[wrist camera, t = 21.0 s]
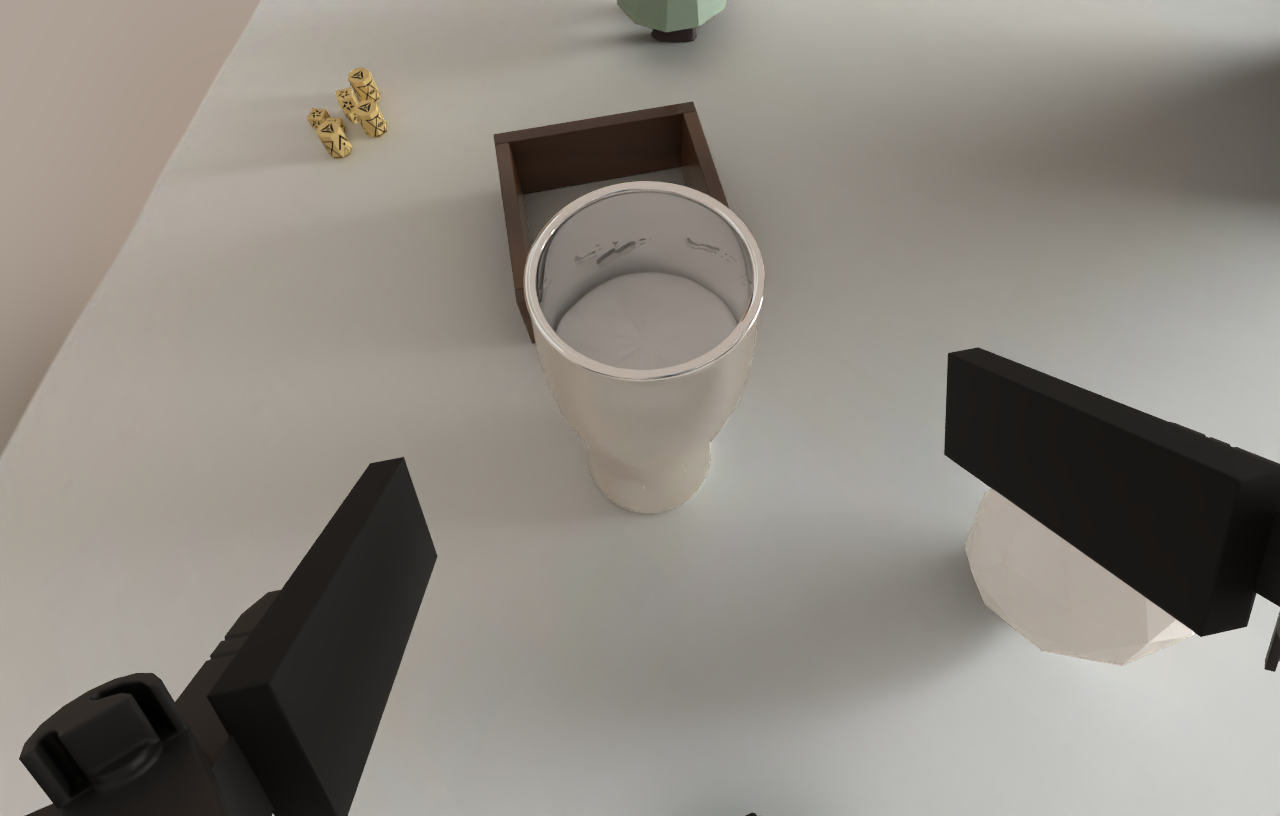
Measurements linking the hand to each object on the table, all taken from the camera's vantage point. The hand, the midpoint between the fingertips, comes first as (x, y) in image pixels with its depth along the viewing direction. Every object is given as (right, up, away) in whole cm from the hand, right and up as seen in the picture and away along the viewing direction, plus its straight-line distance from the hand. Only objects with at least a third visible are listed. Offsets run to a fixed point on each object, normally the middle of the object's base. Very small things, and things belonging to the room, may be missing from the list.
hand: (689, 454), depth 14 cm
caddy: (-3, +11, +21) cm, 24 cm away
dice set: (-20, +20, +26) cm, 38 cm away
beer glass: (-1, -1, +16) cm, 16 cm away
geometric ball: (+16, -6, +13) cm, 22 cm away
